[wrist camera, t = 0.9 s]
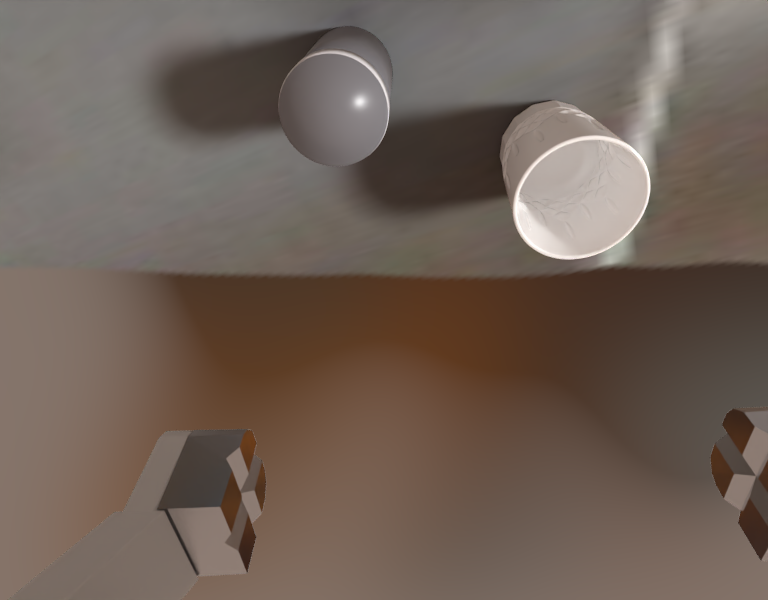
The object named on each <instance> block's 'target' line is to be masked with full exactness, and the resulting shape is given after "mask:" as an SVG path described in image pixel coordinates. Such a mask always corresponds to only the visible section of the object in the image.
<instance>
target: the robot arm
mask: <svg viewBox="0 0 768 600" xmlns="http://www.w3.org/2000/svg"><path fill="white" fill-rule="evenodd" d="M722 426H723V427H724V429H725V430H726V432H727V434H726V435H725V436H724V437H722V438H721V439H719V440H718V441H717V442H715V444H714V447H713V450H712V453H711V456H710V460H711V471H712V475H713V478H714V481H715V484H716V486H717V488H718V490H719V491H720V493H721V495H722V497H723V498H724V499H725V500H726V501H728V502H729V503H730V504H732V505H733V506H735V507H736V508H738V509H739V510H740V516H739V520H738V524H739V525H740V527H741V529H742V530H743V532H744V534H745V535H746V537H747V539H748V540H749V542H750V544H751V545H752V547H753V549H754V550H755V552H756V554H757V555H758V557H759V559H760V560H761V561H768V407H750V408H733V409H732V410H730V411H729V412H728V413H727V414H726V416H725V418H724V420H723V423H722ZM256 444H257V442H256V440H255V437H254V434H253V431H252V430H248V429H237V430H194V431H166V432H165V433H164V434H163V435H162V436H161V437H160V438H159V439H158V441H157V443H156V445H155V447H154V449H153V451H152V453H151V455H150V457H149V460H148V461H147V464H146V466H145V468H144V470H143V472H142V474H141V476H140V478H139V480H138V482H137V484H136V486H135V488H134V490H133V492H132V494H131V496H130V498H129V500H128V502H127V504H126V507H125V508H124V510H123V512H114V513H113V514H111V515H110V516H109V517H108V518H107V519H105V520H104V521H103V522H102V523H101V524H99V525H98V526H97V527H96V528H94V529H93V530H92V531H91V532H89V533H88V534H87V535H86V536H85V537H83V538H82V539H81V540H80V541H79V542H77V543H76V544H75V545H74V546H73V547H71V548H70V549H69V550H68V551H66V552H65V553H64V554H63V555H61V556H60V557H59V558H58V559H57V560H55V561H54V562H53V563H52V564H50V565H49V566H48V567H47V568H46V569H44V570H43V571H42V572H41V573H40V574H38V575H37V576H36V577H35V578H33V579H32V580H31V581H30V582H29V583H27V584H26V585H25V586H24V587H23V588H21V589H20V590H19V591H18V592H16V593H15V594H14V595H13V596H12V597H10V598H9V599H8V600H182V599H183V597H184V596H185V595H186V594H187V593H188V592H189V590H190V589H191V588H192V587H193V585H194V584H195V583H196V582H197V580H198V577H197V576H213V575H230V574H247V573H248V569H249V565H250V561H251V556H252V552H253V548H254V544H255V540H256V535H255V532H254V529H253V526H252V523H253V522H254V521H255V520H256V519H257V518H258V517H259V516H260V515H261V514H262V511H263V506H264V502H265V494H266V475H265V468H264V465H263V462H262V460H261V459H260V458H258V457H257V456H256V455H254V452H255V448H256Z"/></svg>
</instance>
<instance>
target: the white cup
mask: <svg viewBox="0 0 768 600" xmlns="http://www.w3.org/2000/svg"><path fill="white" fill-rule="evenodd" d="M500 160H501V163H502V169H503V177H504V182H505V188H506V192H507V195H508V199H509V203H510V207H511V210H512V214H513V218H514V222H515V226H516V228H517V230H518V232H519V234H520V236H521V237H522V239H523V240H524V241H525V242H526V243H527V244H528V245H529V246H530V247H531V248H533V249H534V250H536V251H537V252H539V253H541V254H544V255H546V256H549V257H553V258H558V259H580V258H585V257H589V256H593V255H596V254H599V253H601V252H603V251H605V250H607V249H609V248H611V247H613V246H614V245H616V244H617V243H618V242H620V241H621V240H622V239H624V238H625V237H626V236H627V235H628V234H629V233H630V232H631V231H632V230H633V228H634V227H635V226H636V225H637V223H638V222H639V220H640V219H641V217H642V215H643V213H644V211H645V209H646V206H647V203H648V200H649V195H650V177H649V173H648V169H647V167H646V164H645V162H644V161H643V159H642V158H641V156H640V155H639V154H638V153H637V152H636V151H635V150H634V149H633V148H632V147H631V146H629V145H628V144H627V143H625V142H624V141H623V140H622V139H620V138H619V137H618V136H616V135H615V134H614V133H613V132H611V131H610V130H609V129H608V128H606V127H605V126H604V125H603V124H601V123H600V122H598V121H597V120H595V119H594V118H592V117H591V116H589V115H587V114H586V113H584V112H582V111H580V110H579V109H578V108H577V107H576V106H574V105H571V104H567V103H563V102H559V101H555V100H553V101H548V102H543V103H538V104H533V105H531V106H530V107H529V108H527V109H526V110H524V111H523V112H521V113H520V114H519V115H517V116H516V117H514V119H513V120H512V122H511V123H510V125H509V127H508V128H507V130H506V131H505V133H504V134H503V136H502V143H501V150H500Z"/></svg>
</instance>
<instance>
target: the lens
mask: <svg viewBox="0 0 768 600" xmlns="http://www.w3.org/2000/svg"><path fill="white" fill-rule="evenodd" d="M392 77H393V71H392V64H391V60H390V57H389V54H388V52H387V50H386V48H385V47H384V45H383V44H382V43H381V42H380V40H379V39H378V38H376V37H375V36H374V35H373V34H371V33H370V32H368V31H366V30H364V29H361V28H358V27H352V26H345V27H339V28H335V29H333V30H330V31H329V32H327V33H325V34H324V35H323V36H322V37H321V38H320V39H319V40H318V41H317V42H316V43H315V44H314V46H313V47H312V48H311V49H310V50H309V51H308V53H307V54H306V55H305V56H304V57H303V58H302V59H301V60H300V61H299V62H298V63H297V64H296V65H295V66H294V67H293V69H292V70H291V71H290V72H289V74H288V75H287V77H286V78H285V80H284V82H283V84H282V87H281V90H280V95H279V103H278V109H279V117H280V122H281V125H282V128H283V130H284V132H285V135H286V136H287V138H288V140H289V141H290V143H291V144H292V145H293V146H294V147H295V148H296V149H297V150H298V151H299V152H300V153H301V154H302V155H304V156H305V157H307V158H308V159H310V160H312V161H314V162H316V163H319V164H322V165H327V166H336V167H339V166H347V165H351V164H354V163H357V162H359V161H361V160H363V159H364V158H366V157H367V156H369V155H370V154H371V153H372V152H373V151H374V150H375V149H376V148H377V147H378V145H379V144H380V142H381V141H382V139H383V137H384V135H385V133H386V129H387V126H388V120H389V109H390V95H391V87H392Z"/></svg>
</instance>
